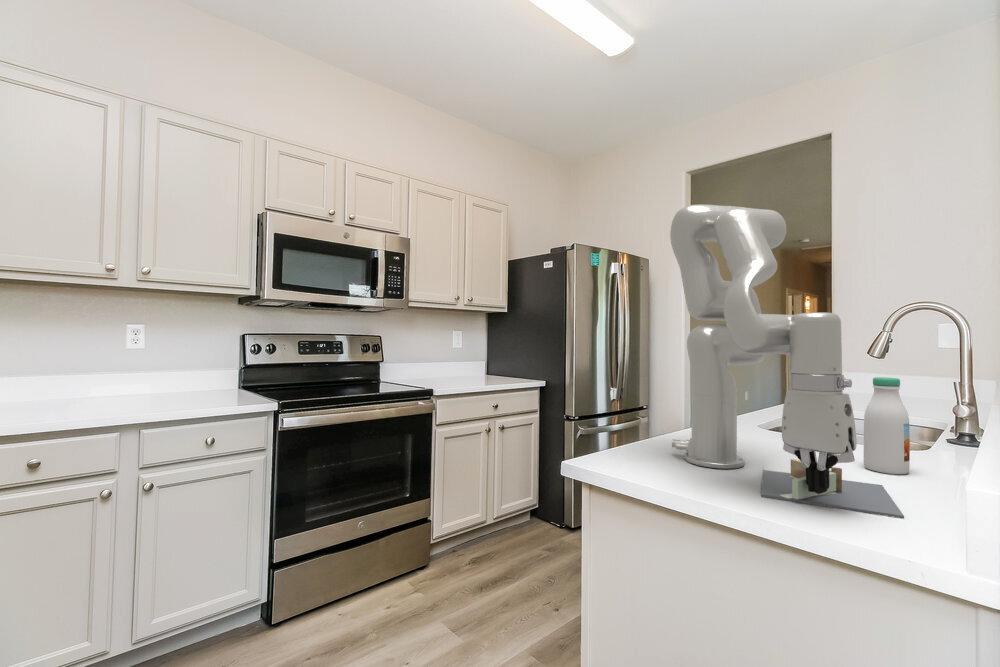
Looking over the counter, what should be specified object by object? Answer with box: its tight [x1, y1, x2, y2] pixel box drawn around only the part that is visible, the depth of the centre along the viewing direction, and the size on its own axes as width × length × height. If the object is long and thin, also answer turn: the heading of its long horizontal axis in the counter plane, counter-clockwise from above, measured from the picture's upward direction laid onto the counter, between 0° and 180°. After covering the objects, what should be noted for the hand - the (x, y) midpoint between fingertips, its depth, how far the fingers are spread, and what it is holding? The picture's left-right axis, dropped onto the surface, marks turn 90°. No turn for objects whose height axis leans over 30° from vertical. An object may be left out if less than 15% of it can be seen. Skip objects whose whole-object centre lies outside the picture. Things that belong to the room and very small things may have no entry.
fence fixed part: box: [790, 458, 843, 493], centre depth 92 cm, size 10×2×5 cm, turn 15°
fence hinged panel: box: [792, 472, 836, 499], centre depth 85 cm, size 11×1×3 cm, turn 115°
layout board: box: [760, 469, 905, 519], centre depth 88 cm, size 20×18×1 cm
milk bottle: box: [863, 376, 911, 475], centre depth 103 cm, size 8×8×20 cm
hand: (817, 491), depth 81 cm, fingers closed
